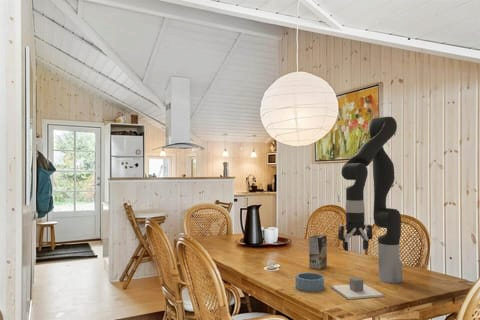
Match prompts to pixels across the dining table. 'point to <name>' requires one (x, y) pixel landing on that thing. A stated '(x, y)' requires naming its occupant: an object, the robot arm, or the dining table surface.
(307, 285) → the bowl
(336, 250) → the dining table surface
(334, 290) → the mat
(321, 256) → the coffee box
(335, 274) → the dining table surface
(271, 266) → the teacup and saucer
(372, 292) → the lid
